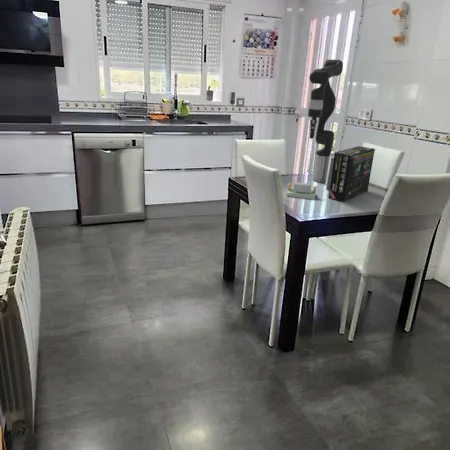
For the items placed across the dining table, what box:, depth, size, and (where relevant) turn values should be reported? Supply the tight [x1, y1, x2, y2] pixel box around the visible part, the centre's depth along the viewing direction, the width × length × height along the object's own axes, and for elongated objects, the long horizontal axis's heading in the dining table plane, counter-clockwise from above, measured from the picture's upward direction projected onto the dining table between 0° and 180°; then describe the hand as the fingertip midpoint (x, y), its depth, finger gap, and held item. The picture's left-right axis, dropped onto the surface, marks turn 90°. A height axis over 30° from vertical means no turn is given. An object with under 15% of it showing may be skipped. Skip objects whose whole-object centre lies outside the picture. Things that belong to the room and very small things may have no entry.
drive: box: [292, 181, 312, 194], centre depth 230 cm, size 5×10×6 cm, turn 81°
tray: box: [286, 182, 317, 200], centre depth 230 cm, size 11×16×6 cm
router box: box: [328, 145, 376, 203], centre depth 234 cm, size 36×11×27 cm, turn 141°
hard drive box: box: [325, 153, 335, 190], centre depth 250 cm, size 16×8×20 cm, turn 168°
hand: (311, 137), depth 229 cm, fingers open, 8 cm apart
